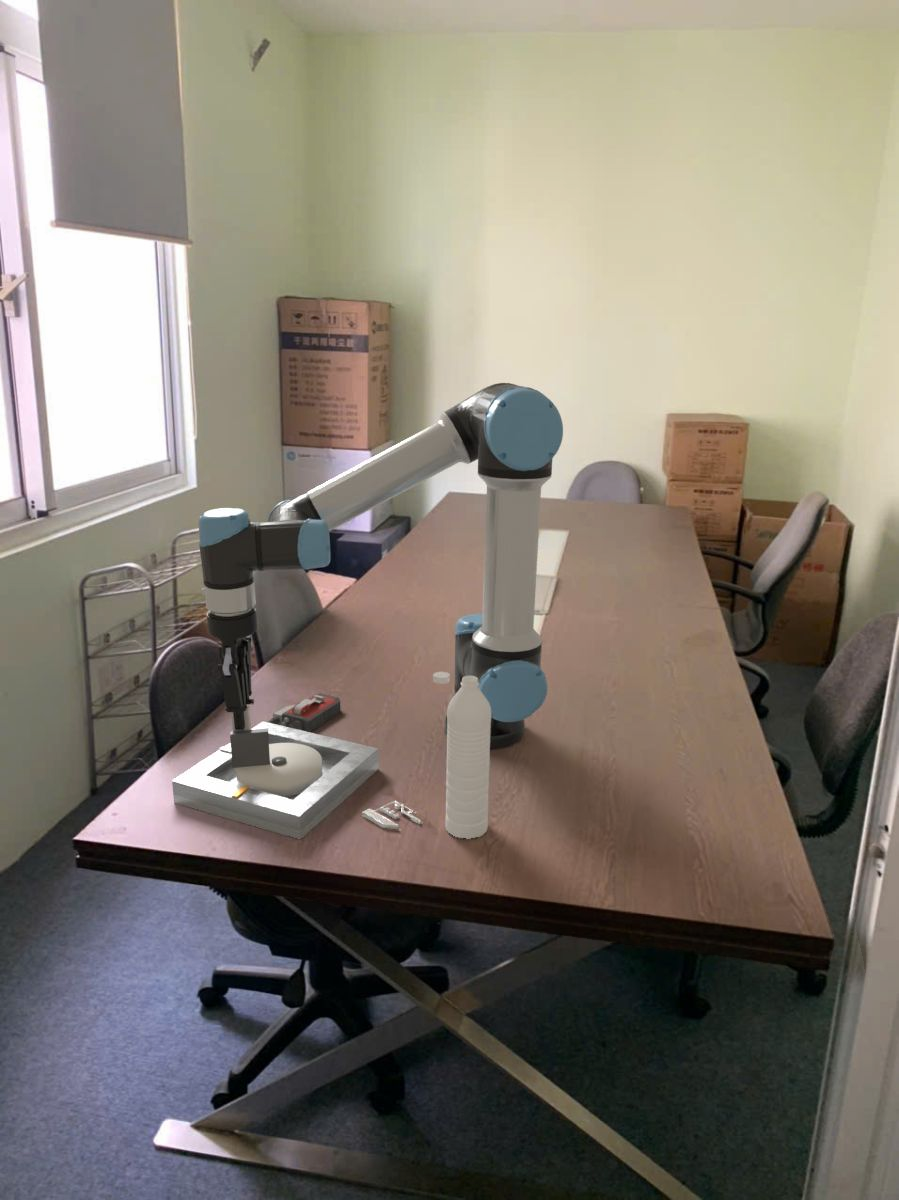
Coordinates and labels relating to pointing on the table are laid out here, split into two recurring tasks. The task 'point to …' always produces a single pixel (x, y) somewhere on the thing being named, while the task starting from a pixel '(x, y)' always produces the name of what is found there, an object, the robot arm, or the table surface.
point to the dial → (273, 763)
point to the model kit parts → (383, 820)
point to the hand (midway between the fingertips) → (243, 743)
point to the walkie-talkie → (308, 712)
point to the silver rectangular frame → (291, 815)
